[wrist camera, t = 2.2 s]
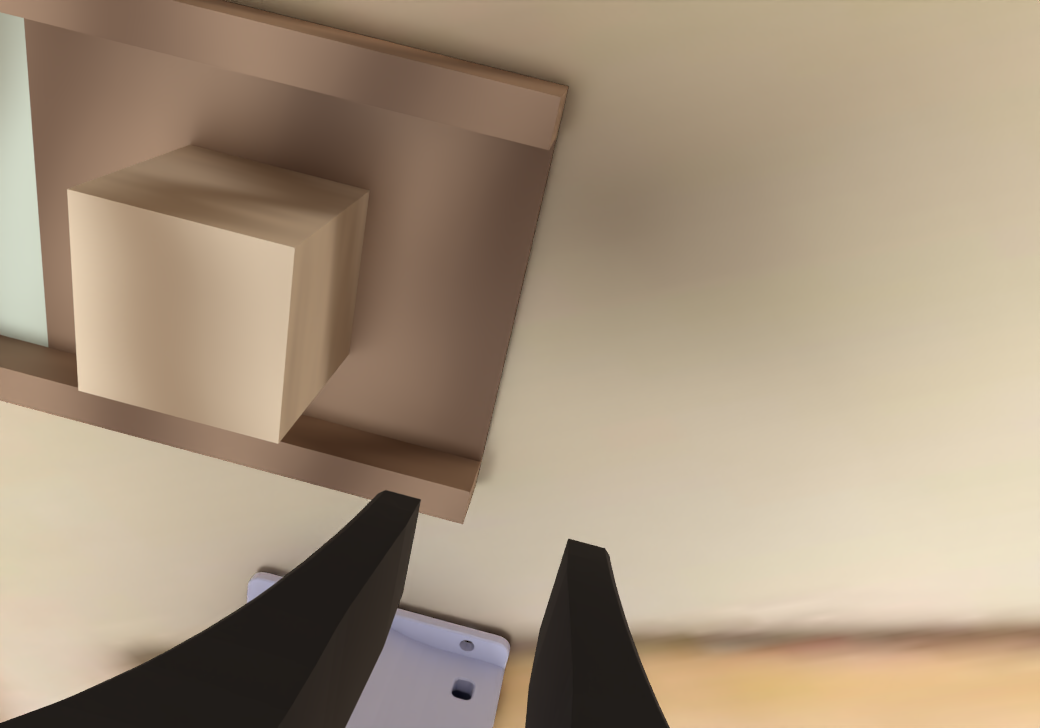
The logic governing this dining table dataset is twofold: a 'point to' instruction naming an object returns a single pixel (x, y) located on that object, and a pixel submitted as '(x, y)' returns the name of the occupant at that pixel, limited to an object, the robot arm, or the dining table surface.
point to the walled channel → (305, 149)
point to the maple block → (214, 287)
